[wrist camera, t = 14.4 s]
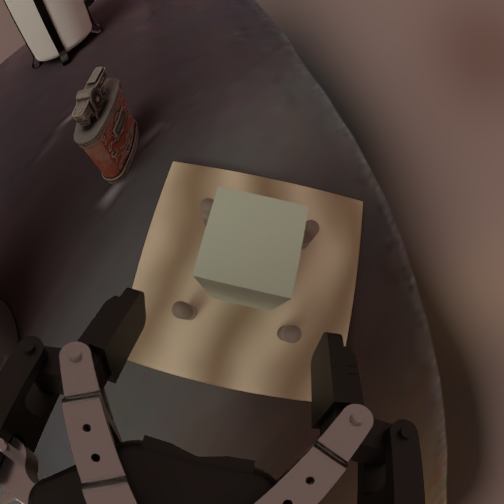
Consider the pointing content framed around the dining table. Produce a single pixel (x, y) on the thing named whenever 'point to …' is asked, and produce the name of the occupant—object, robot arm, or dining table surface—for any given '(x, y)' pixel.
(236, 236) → the sage block
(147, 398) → the dining table surface
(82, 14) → the coffee press
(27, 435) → the robot arm
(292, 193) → the peg board
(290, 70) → the dining table surface
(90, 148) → the lighter
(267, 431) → the dining table surface
